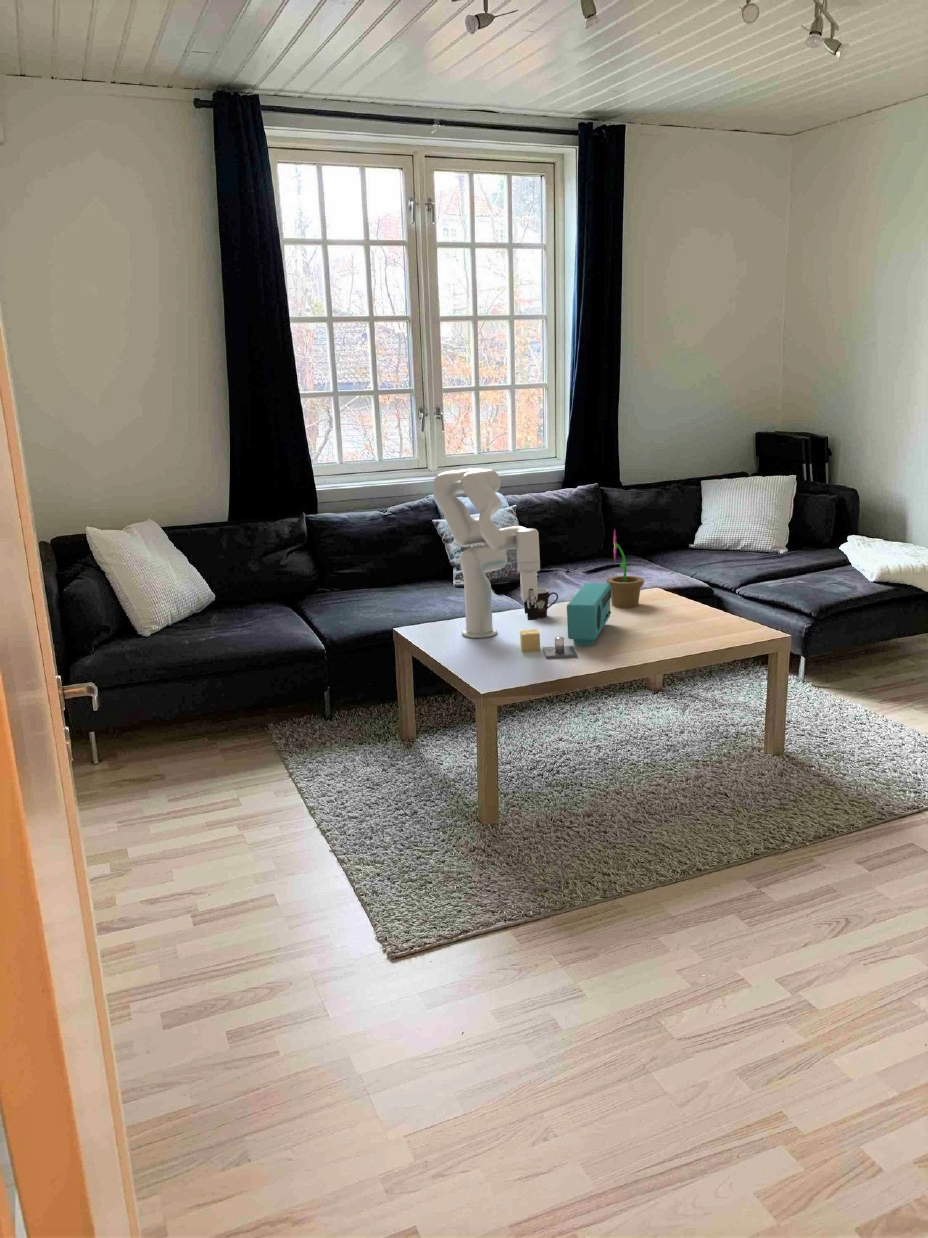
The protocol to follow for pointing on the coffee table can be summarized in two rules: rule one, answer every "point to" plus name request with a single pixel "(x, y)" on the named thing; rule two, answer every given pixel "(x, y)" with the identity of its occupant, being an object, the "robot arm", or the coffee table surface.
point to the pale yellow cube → (530, 640)
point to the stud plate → (560, 654)
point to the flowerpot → (624, 585)
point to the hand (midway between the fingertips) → (530, 616)
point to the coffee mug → (543, 602)
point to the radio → (588, 612)
